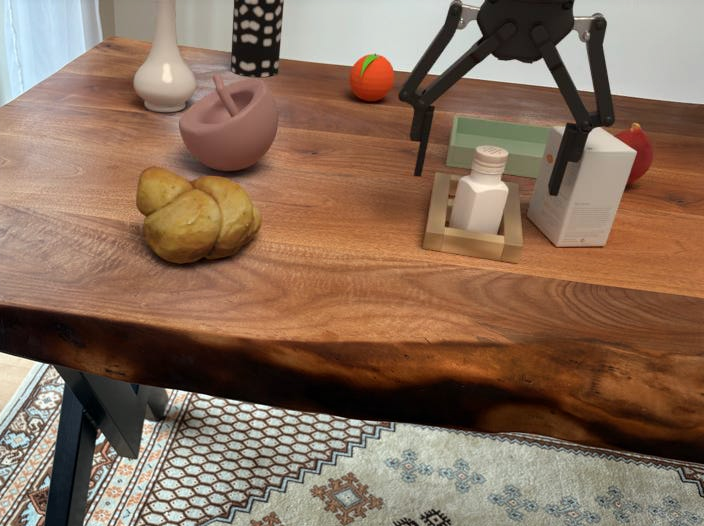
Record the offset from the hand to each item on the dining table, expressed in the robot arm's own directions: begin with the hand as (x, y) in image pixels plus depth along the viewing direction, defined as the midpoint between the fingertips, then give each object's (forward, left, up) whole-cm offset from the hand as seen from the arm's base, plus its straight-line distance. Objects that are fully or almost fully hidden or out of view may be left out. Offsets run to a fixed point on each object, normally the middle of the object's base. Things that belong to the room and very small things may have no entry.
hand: (484, 181), depth 79 cm
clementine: (+17, -45, -6) cm, 49 cm away
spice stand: (0, -4, -6) cm, 7 cm away
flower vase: (+45, -30, -6) cm, 55 cm away
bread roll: (+26, +13, -6) cm, 30 cm away
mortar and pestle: (+30, -9, -6) cm, 32 cm away
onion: (-17, -22, -6) cm, 29 cm away
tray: (-4, -27, -6) cm, 28 cm away
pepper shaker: (0, 0, -6) cm, 6 cm away
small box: (-10, -5, -6) cm, 13 cm away
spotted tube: (+38, -55, -6) cm, 67 cm away
